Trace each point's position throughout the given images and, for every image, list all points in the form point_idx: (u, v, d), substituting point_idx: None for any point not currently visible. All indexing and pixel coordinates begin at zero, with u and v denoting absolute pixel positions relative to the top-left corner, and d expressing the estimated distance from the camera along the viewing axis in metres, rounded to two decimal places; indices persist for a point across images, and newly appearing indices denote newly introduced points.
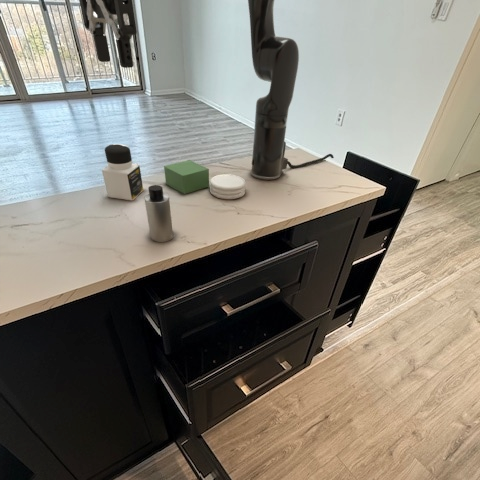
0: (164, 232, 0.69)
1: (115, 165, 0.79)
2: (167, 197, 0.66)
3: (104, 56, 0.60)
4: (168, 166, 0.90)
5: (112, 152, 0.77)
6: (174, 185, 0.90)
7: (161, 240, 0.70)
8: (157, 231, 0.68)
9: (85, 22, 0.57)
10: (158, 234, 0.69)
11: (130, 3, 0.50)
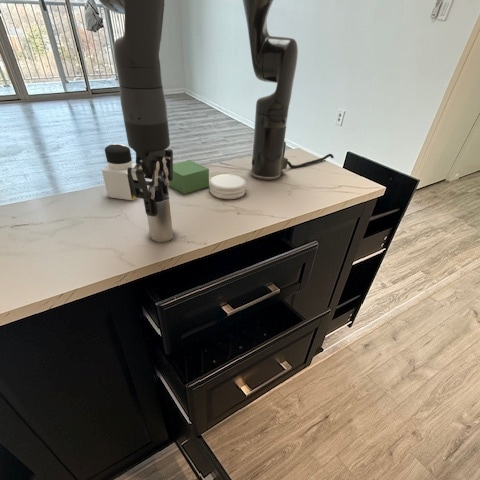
0: (164, 232, 0.69)
1: (115, 165, 0.79)
2: (167, 197, 0.66)
3: None
4: None
5: (112, 152, 0.77)
6: (174, 185, 0.90)
7: (161, 240, 0.70)
8: (157, 231, 0.68)
9: None
10: (158, 234, 0.69)
11: (140, 183, 0.57)
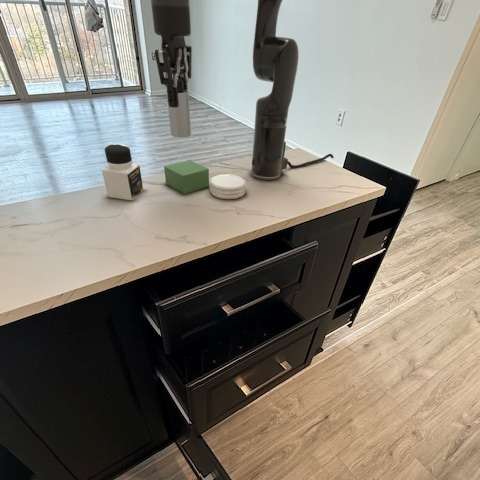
0: (183, 126, 0.76)
1: (115, 165, 0.79)
2: (187, 91, 0.73)
3: None
4: (168, 166, 0.90)
5: (112, 152, 0.77)
6: (174, 185, 0.90)
7: (181, 135, 0.77)
8: (177, 126, 0.76)
9: (180, 72, 0.75)
10: (178, 128, 0.76)
11: (166, 65, 0.65)
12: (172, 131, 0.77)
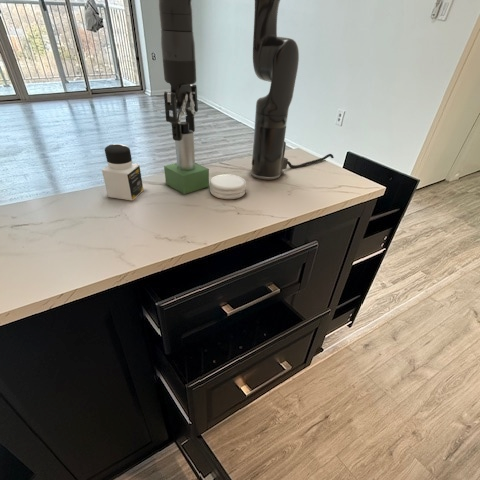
0: (188, 161, 0.86)
1: (115, 165, 0.79)
2: (192, 131, 0.84)
3: (190, 129, 0.86)
4: (168, 166, 0.90)
5: (112, 152, 0.77)
6: (174, 185, 0.90)
7: (186, 169, 0.88)
8: (183, 161, 0.86)
9: None
10: (184, 163, 0.87)
11: (172, 104, 0.73)
12: (178, 165, 0.88)
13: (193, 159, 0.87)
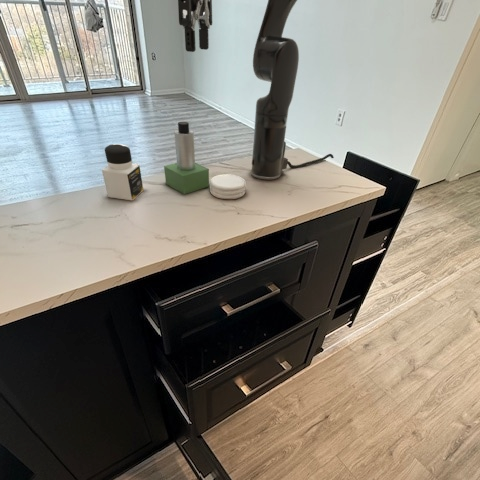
0: (188, 161, 0.86)
1: (115, 165, 0.79)
2: (192, 131, 0.84)
3: (203, 45, 0.79)
4: (168, 166, 0.90)
5: (112, 152, 0.77)
6: (174, 185, 0.90)
7: (186, 169, 0.88)
8: (183, 161, 0.86)
9: (201, 19, 0.78)
10: (184, 163, 0.87)
11: (187, 1, 0.66)
12: (178, 165, 0.88)
13: (193, 159, 0.87)
